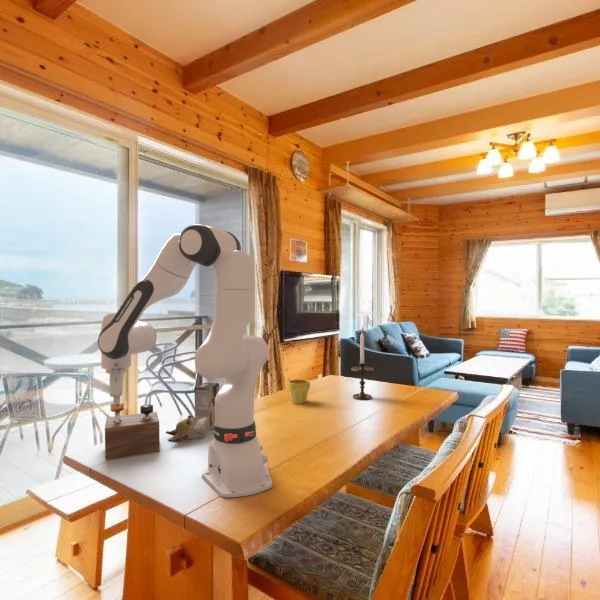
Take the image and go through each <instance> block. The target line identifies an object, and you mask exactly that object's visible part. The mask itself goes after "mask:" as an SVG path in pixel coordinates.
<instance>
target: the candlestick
mask: <svg viewBox="0 0 600 600" xmlns="http://www.w3.org/2000/svg"><path fill="white" fill-rule="evenodd" d="M359 337H360V338H359V342H360V343H359V347H360V348H359V353H360V354H359V357H360V358H359V359H360V360H359V362H358V364H359V366H357V365H356V366H352V367H350V371H351V372H354V373H359V374H360V381H359V385H360V386H359V388H360V393H356V394H353V395H352V399H354V400H358V401H369V400H371V399H372V398H373V397H372V395H371V394H369V393H365V390H364V389H365V388H366V387H365V384H366V381H365V379H364V377H365V376H364V375H365V374H366V373H368V374H369V373H372V372H373V373H374V371H375V370H374V367H371V366H365V364H367V362H365V335H364V328H363V326H362V327H361V334H360V336H359Z"/></svg>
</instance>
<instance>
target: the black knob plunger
mask: <svg viewBox="0 0 600 600" xmlns="http://www.w3.org/2000/svg"><path fill="white" fill-rule="evenodd" d="M139 408H140V411H139V412H140V413H141V414H144V419H149V413H152V412H154V405H153V404H144V405H143V404H142V405H141V406H140V407H139ZM140 413H139V414H140Z"/></svg>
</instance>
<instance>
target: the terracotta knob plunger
mask: <svg viewBox="0 0 600 600" xmlns="http://www.w3.org/2000/svg"><path fill="white" fill-rule="evenodd" d="M110 411H111V413H113V412H114V416H115V423H116V422H120V416H121V411H125V403H124V402H122V401H120V404H119V405H114V402H112V403H110Z"/></svg>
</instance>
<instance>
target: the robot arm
mask: <svg viewBox="0 0 600 600" xmlns="http://www.w3.org/2000/svg"><path fill="white" fill-rule="evenodd" d="M197 265H201V266H203V267H212V268H213V270H214V272H215V276H216V277H215V278H216V279H215V280H216V281H215V303H214V305H215V307H214V315H213V320H212V321H213V322H212V324H211V328H210V330H209V333H208V334H207V337H206V338H205V340H204V341H203V343H202V344H201V345H200V346H199V347H198V348H197V350H196V352H195V355H194V356H195V357H194V364H195V365H194V366H195V368H196V371H197V373H198V374H199V376H201V377H203V378H204V379H207V380H223V379H224V382H223V384H222V385H221V388H219V391H218V393H217V395H216V397H215V423H214V428H212V430H213V440H212V441H211V443H209V445H208V449H207V450H208V451H207V452H208V453H207V469H205V470H204V471H202V473H201V477H202V479H204V480H205V481H206V482H207V483H208V484H209V486H210V487H211V488H212V489H213V490H214V491H215V492H216V493H218V495H219V496H221V497H223V498H240V497H247V496H250V495H255V494H259V493H262V492H265V491H267V490H269V489H271V488H273V481H272V477H271V474H270V471H269V467H268V461H269V460H268V458H269V457H268V454H267V453H263V454H262V451H264V447H263V445H260V442H259V437H258V436H257V426H256V421H255V417H254V416H255V415H254V408H255V392H256V388H257V384H258V381H259V380H258V379H259V377H260V373H261V371H262V369H263V367H264V365H265V363H266V362H267V361H268V359H269V354H270V353H269V352H270V350H269V347H268V343H267V342H266V341H265V340H264V339H263V338H262V337H260V336H256V335H249V334H245V331H246V329H247V327H248V326H249V323H251V321H252V320H253V319H254V316H255V296H256V295H255V292H256V290H255V289H256V288H255V287H256V280H255V277H256V276H255V269H254V263H253V258H252V257H251V255H249V254H248V253H247V252H245V251H243V250H242V247H241V242H240V241H239V239H238V237H236V236H235V235H234V234H233V233H231V232H230V231H225V230H223V229H221V228H219V227H216V226H212V225H205V224H202V223H196V224H191V225H188V226H186V227H185V228H184V229H182V231H181V232H180V233H174V234H173V235H171V236H170V237H169V239H168V240H167V241H166V242H165V244H164V245H163V247H162V248H161V250H160V251H159V253H158V255H157V257H156V258H155V261H154V262H153V264H152V266H151V267H150V269H149V270H148V272H147V273H146V274H145V276H143V278H142V279H141V280H140V281H138V282H137V283H136V284H135V285H134V287H132V289H131V291H130V292H129V293H128V295H127V297H126V298H125V300H124V301H123V303H122V305H120V307H119V309H118V310H117V311H116V312H110V313H107V314H106V315H104V316H103V318H102V320H101V321H102V322H101V326H100V327H101V329H100V333H99V335H98V339H97V346H98V349H99V350H100V353H101V357H100V358H101V360H100V361H101V369H104V370H105V373H106V374H108V375H109V396H110V397H111V398H113V403H114V405H119V404H120V402H121V396H123V393H124V391H123V390H124V377H125V373H126V372H128V368H130V367H131V366H132V355H137V354H141V353H142V354H143V353H146V352H148V351H150V350H152V349H153V348H154V347H155V345H156V342H157V332H156V330H155V328H154V327H153V326H152V325H151V324H150V323H148V322H143V321H140V318H141V317H142V315H143V313H145V311H146V310H147V309H148V308H149V307H151V306H152V305H153V304H155V303H158V302H161V301H163V300H165V299H168V298H171V297H173V296H176V295H178V294H179V293H180V292H181V291H182V290H183V289H184V287H185V286H186V285H187V283H188V281H189V279H190V277H191V275H192V273H193V271H194V269H195V267H196V266H197Z"/></svg>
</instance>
